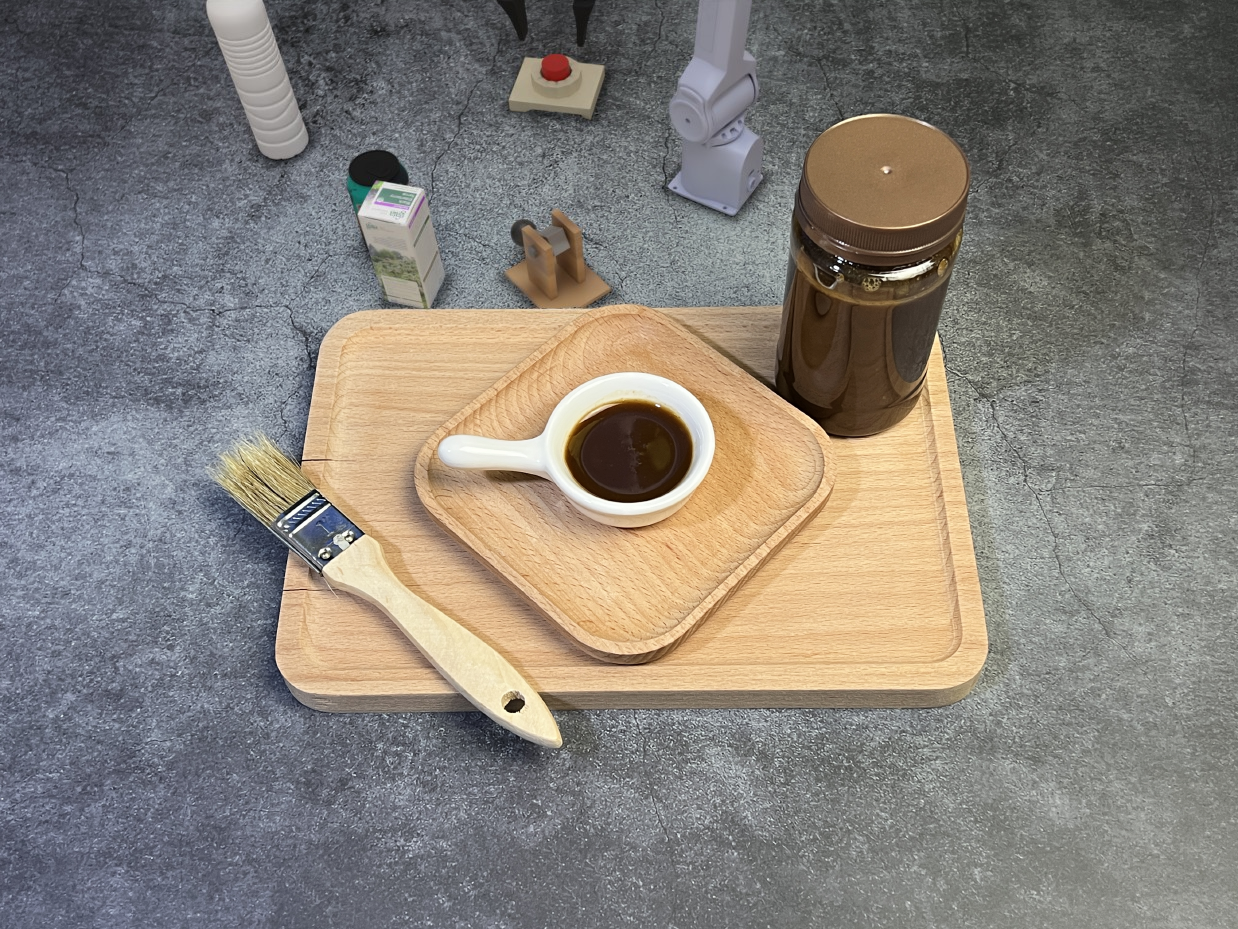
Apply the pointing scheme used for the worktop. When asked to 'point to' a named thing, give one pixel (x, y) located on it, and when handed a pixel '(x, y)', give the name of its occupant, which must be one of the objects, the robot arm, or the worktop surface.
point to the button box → (557, 89)
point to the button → (555, 67)
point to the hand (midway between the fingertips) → (552, 38)
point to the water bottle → (259, 75)
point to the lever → (550, 234)
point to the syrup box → (402, 243)
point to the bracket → (556, 270)
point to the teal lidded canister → (373, 176)
